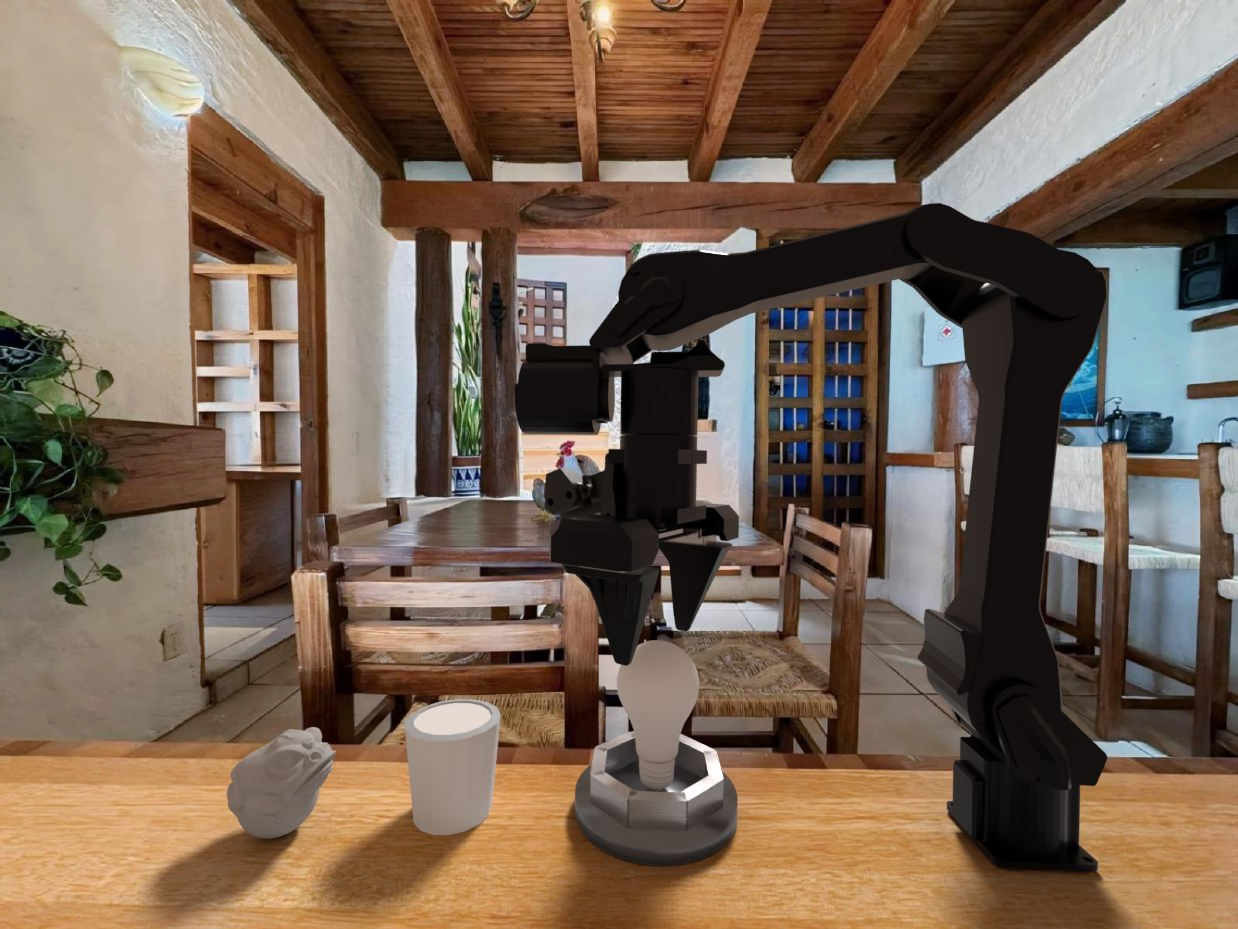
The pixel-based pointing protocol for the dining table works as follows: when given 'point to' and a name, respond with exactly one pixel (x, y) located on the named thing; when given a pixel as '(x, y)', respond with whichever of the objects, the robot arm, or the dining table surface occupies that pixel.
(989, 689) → the robot arm
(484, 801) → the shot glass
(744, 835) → the dining table surface
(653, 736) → the lightbulb
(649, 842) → the socket base
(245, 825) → the frog figurine
